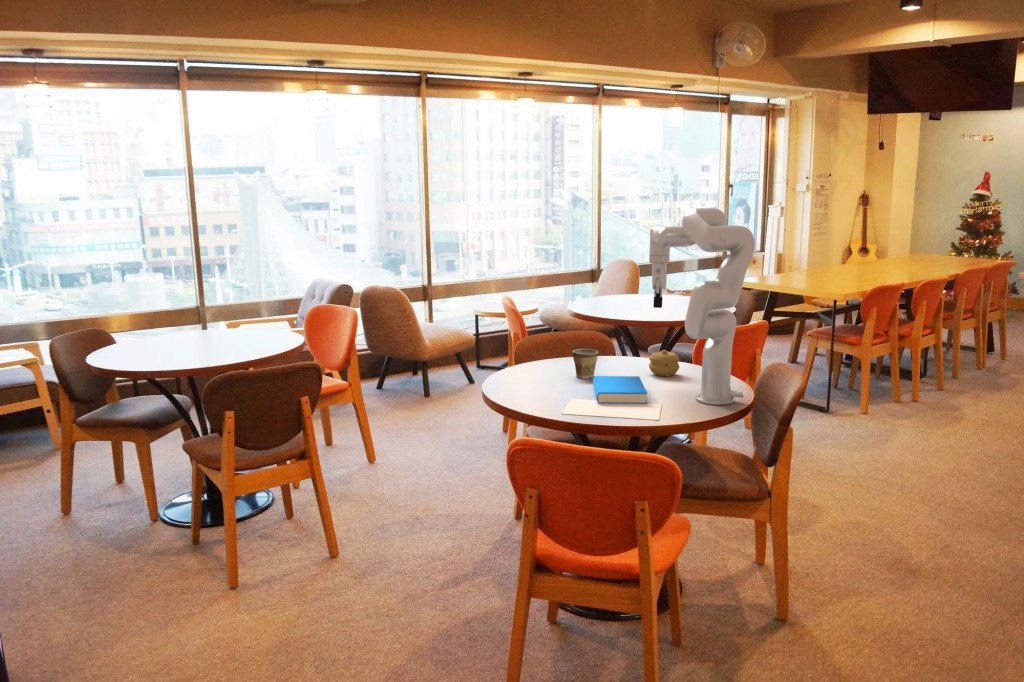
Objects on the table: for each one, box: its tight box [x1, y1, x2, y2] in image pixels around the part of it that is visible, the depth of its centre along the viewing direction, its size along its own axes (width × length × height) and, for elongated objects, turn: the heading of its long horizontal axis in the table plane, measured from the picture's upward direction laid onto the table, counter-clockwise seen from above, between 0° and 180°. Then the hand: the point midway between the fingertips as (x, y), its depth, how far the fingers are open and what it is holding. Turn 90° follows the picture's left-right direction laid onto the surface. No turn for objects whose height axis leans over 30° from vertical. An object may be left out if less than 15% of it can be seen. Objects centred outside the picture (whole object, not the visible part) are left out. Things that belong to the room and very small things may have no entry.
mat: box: [561, 398, 663, 421], centre depth 263 cm, size 31×19×1 cm, turn 77°
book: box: [592, 375, 648, 404], centre depth 281 cm, size 17×4×25 cm
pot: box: [648, 349, 680, 377], centre depth 311 cm, size 12×12×10 cm
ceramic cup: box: [572, 348, 599, 379], centre depth 310 cm, size 13×10×10 cm
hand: (657, 307), depth 305 cm, fingers closed
